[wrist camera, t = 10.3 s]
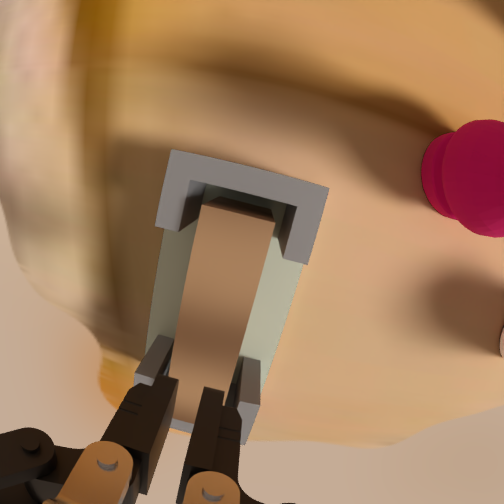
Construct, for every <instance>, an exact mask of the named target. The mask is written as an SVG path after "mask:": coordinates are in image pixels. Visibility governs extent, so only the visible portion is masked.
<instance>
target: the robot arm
mask: <svg viewBox="0 0 504 504" xmlns="http://www.w3.org/2000/svg"><path fill="white" fill-rule="evenodd" d="M178 384H179V379H176V378H172V377H169V376H166V375H162V374H159V373H158V375H157V376H156V378H155V380H154V382H153V384H152V386H149V385H146V384H143V383H138V384H137V385H135V386H134V387H132V388H131V389H129V391H128V392H127V394H126V396H125V398H124V400H123V401H122V403H121V405H120V406H119V409H118V410H117V412H116V413H115V415H114V417H113V419H112V420H111V422H110V424H109V426H108V427H107V429H106V431H105V433H104V435H103V436H102V438H101V440H100V441H98V442H94V443H92V444H90V445H88V446H87V447H86V448H85V449H72V448H67V447H61V446H56V445H54V443H53V441H52V439H51V438H50V437H49V436H48V435H47V434H46V433H45V432H43V431H41V430H39V429H35V428H21V429H18V430H14V431H10V432H6V433H2V434H0V504H135V502H136V499H137V496H138V493H141V494H145V495H147V493H148V490H149V487H150V484H151V481H152V478H153V475H154V472H155V469H156V466H157V463H158V460H159V457H160V454H161V451H162V448H163V445H164V442H165V439H166V437H167V433H168V431H169V428H170V425H171V421H172V417H173V413H174V408H175V402H176V396H177V390H178ZM224 394H225V391H222V390H218V389H214V388H210V387H206V386H204V388H203V392H202V396H201V400H200V404H199V408H198V411H197V415H196V419H195V423H194V427H193V431H192V435H191V438H190V442H189V446H188V450H187V454H186V458H185V462H184V466H183V471H182V476H181V480H180V485H179V490H178V495H177V500H176V504H264V503H261V502H259V501H256V500H254V499H252V498H251V497H249V496H248V495H247V494H245V492H244V491H243V490H242V489H241V487H240V485H239V483H238V466H239V454H240V441H241V429H242V418H241V416H240V414H239V412H238V410H237V409H236V408H232V407H227V406H223V400H224ZM282 504H295V503H282Z"/></svg>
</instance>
